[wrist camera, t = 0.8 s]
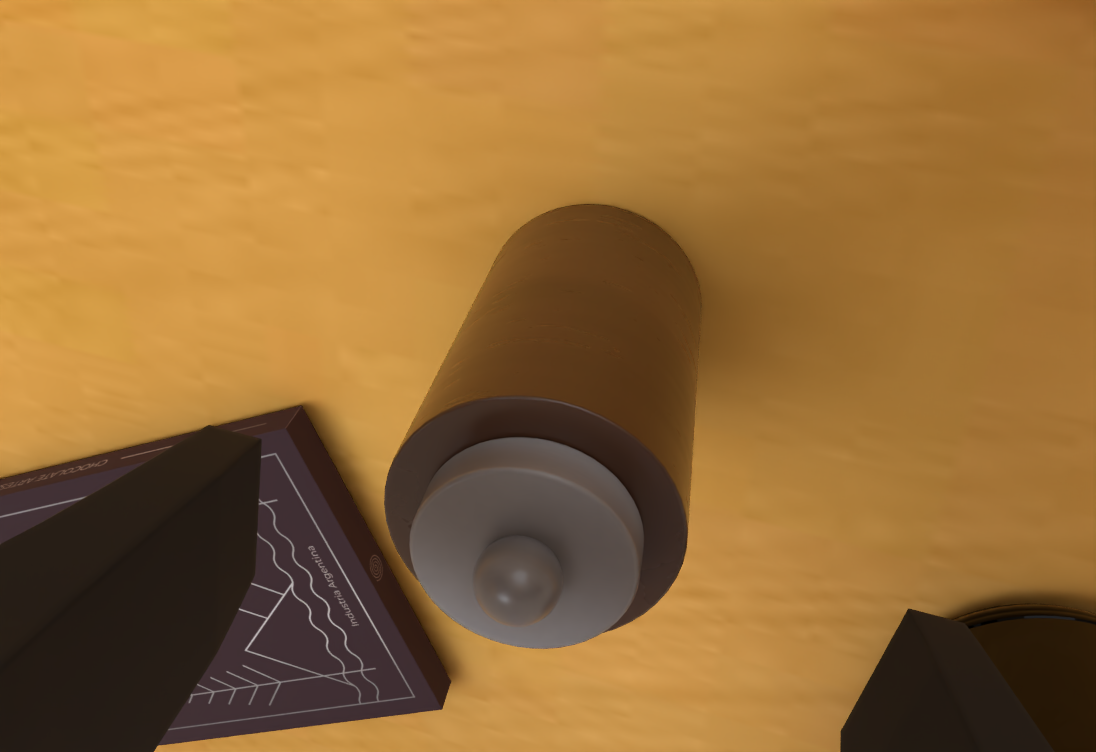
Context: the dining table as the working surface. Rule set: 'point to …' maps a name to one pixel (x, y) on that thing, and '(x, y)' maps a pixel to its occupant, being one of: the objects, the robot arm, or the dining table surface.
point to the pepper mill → (557, 436)
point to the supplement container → (1045, 666)
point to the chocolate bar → (281, 594)
